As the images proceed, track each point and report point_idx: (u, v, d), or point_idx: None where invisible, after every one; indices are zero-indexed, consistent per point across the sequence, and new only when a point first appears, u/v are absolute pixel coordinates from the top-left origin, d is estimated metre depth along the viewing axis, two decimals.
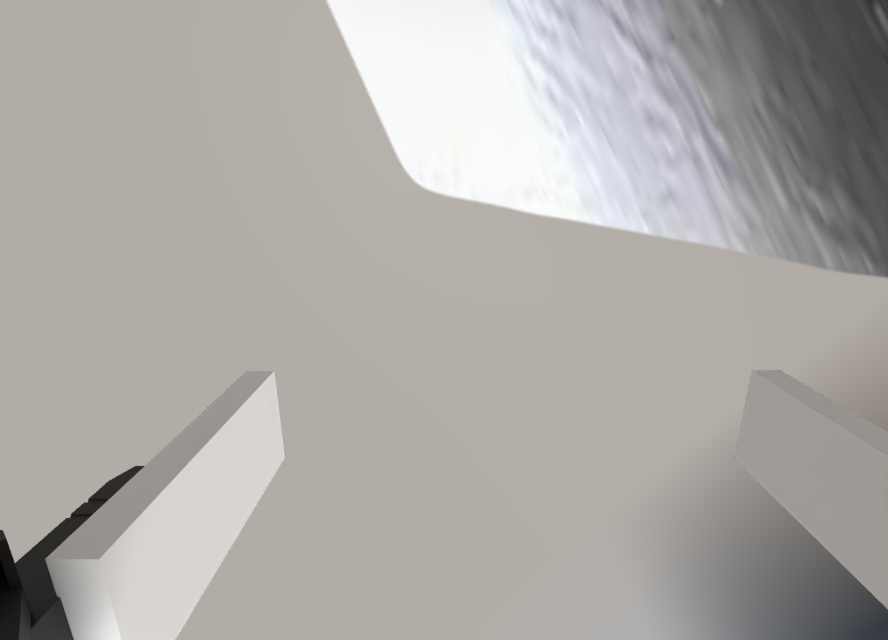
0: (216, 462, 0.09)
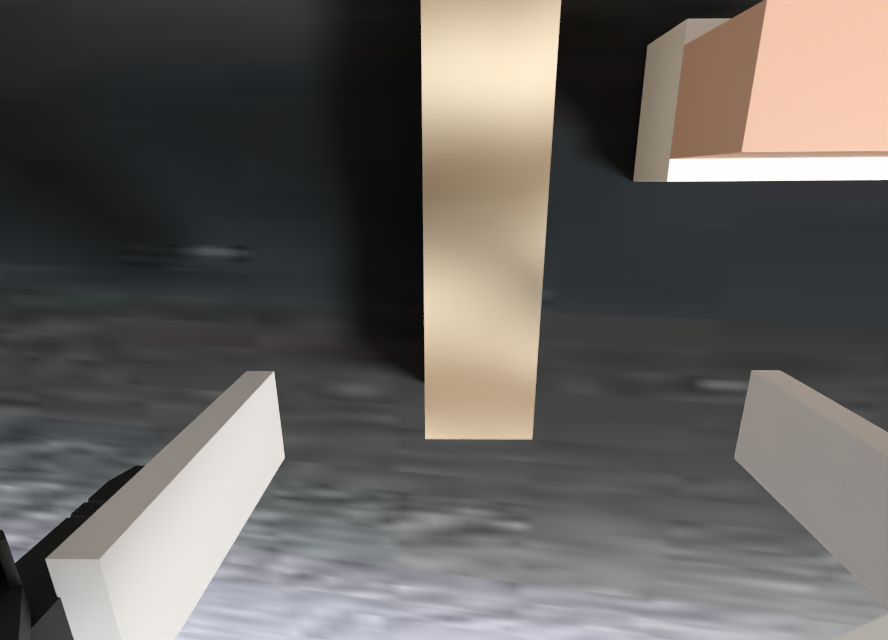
0: (216, 462, 0.09)
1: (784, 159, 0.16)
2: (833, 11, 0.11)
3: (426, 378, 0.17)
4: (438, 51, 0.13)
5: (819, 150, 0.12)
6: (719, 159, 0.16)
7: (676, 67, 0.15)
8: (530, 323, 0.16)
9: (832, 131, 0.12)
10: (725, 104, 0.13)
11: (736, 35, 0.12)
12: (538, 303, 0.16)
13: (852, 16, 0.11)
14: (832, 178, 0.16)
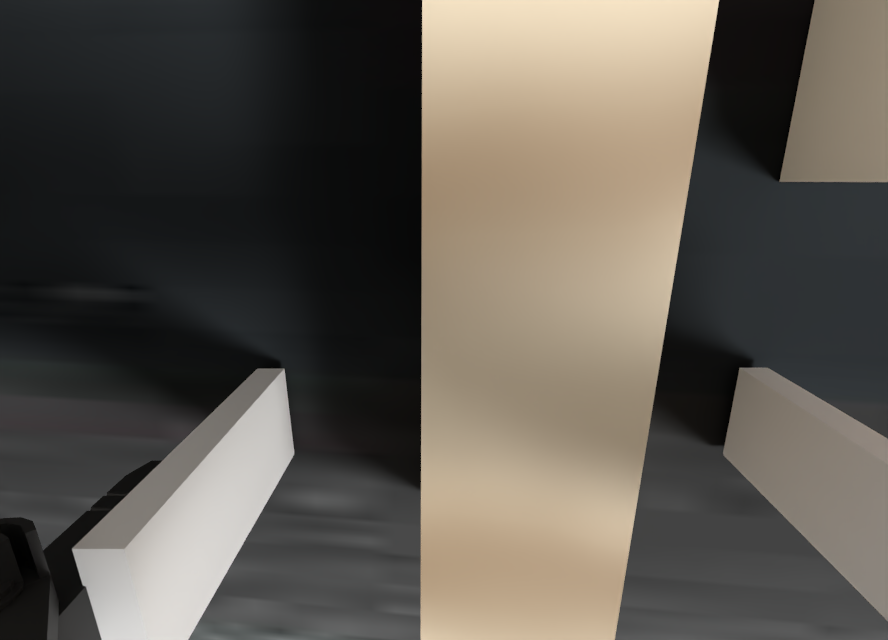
0: (231, 457, 0.10)
1: None
2: None
3: (424, 546, 0.09)
4: None
5: None
6: None
7: None
8: (626, 456, 0.08)
9: None
10: None
11: None
12: (645, 421, 0.08)
13: None
14: None
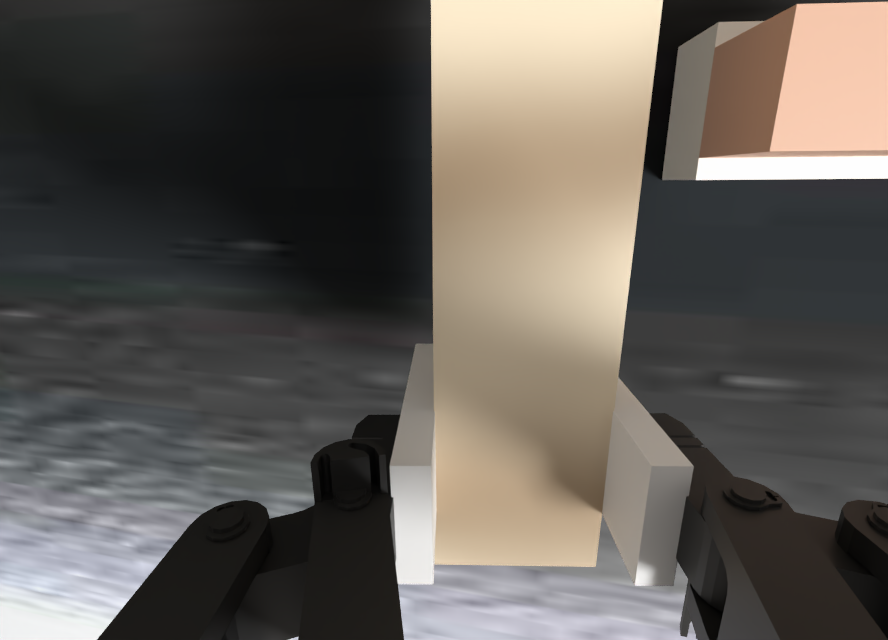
0: None
1: (814, 158, 0.16)
2: (862, 15, 0.12)
3: (437, 480, 0.11)
4: None
5: (847, 149, 0.13)
6: (748, 158, 0.16)
7: (706, 69, 0.16)
8: (600, 400, 0.10)
9: (860, 130, 0.12)
10: (754, 105, 0.13)
11: (766, 39, 0.13)
12: (614, 371, 0.10)
13: (881, 20, 0.12)
14: (862, 176, 0.16)
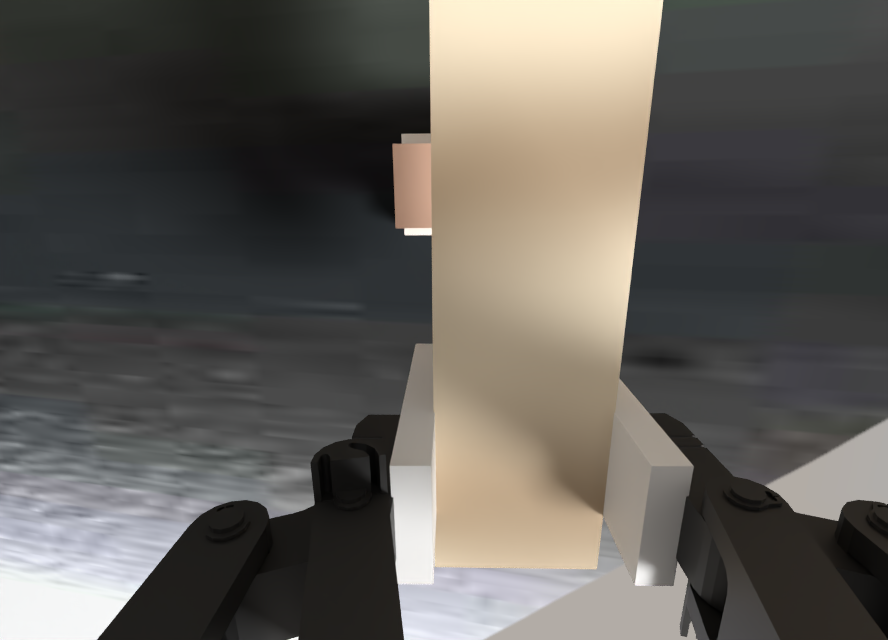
0: None
1: None
2: None
3: (437, 482, 0.11)
4: None
5: None
6: None
7: None
8: (601, 402, 0.10)
9: None
10: None
11: None
12: (615, 372, 0.10)
13: None
14: None
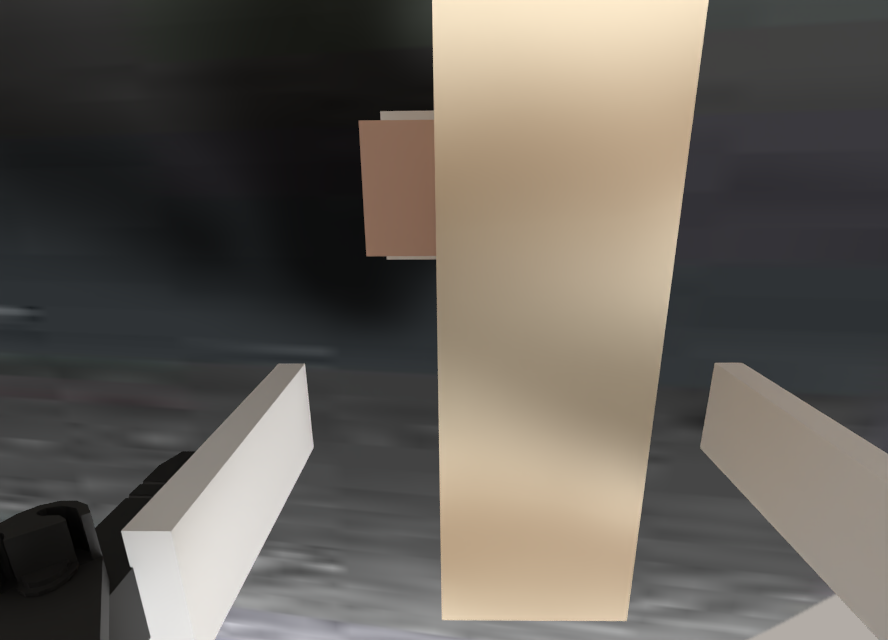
0: (259, 448, 0.10)
1: None
2: (424, 131, 0.12)
3: (443, 526, 0.09)
4: None
5: None
6: None
7: None
8: (633, 434, 0.09)
9: None
10: None
11: None
12: (650, 400, 0.08)
13: None
14: None
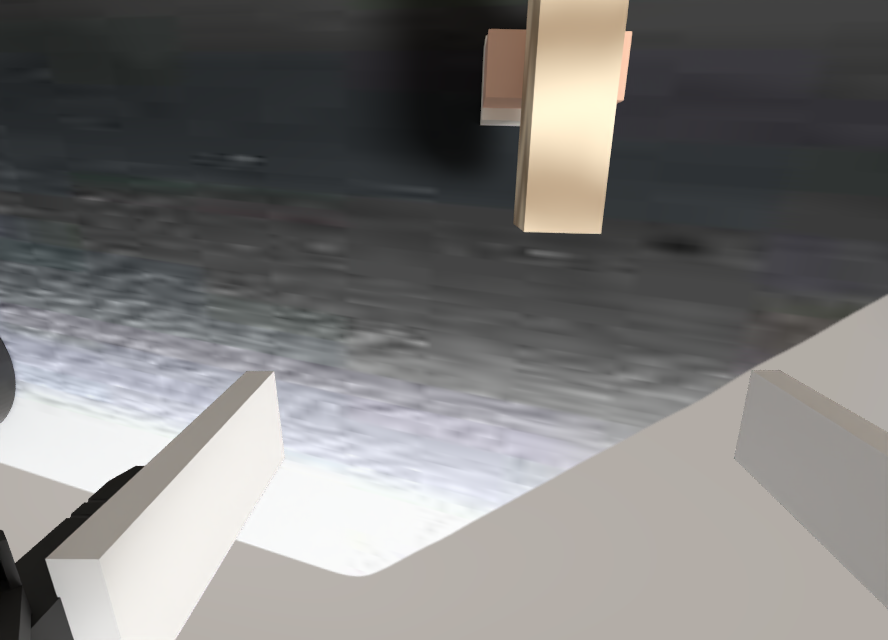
0: (216, 462, 0.09)
1: None
2: (518, 35, 0.26)
3: (528, 182, 0.23)
4: None
5: (520, 97, 0.27)
6: (508, 108, 0.31)
7: (484, 59, 0.30)
8: (605, 141, 0.23)
9: None
10: (485, 76, 0.28)
11: (487, 44, 0.27)
12: (611, 125, 0.23)
13: None
14: None
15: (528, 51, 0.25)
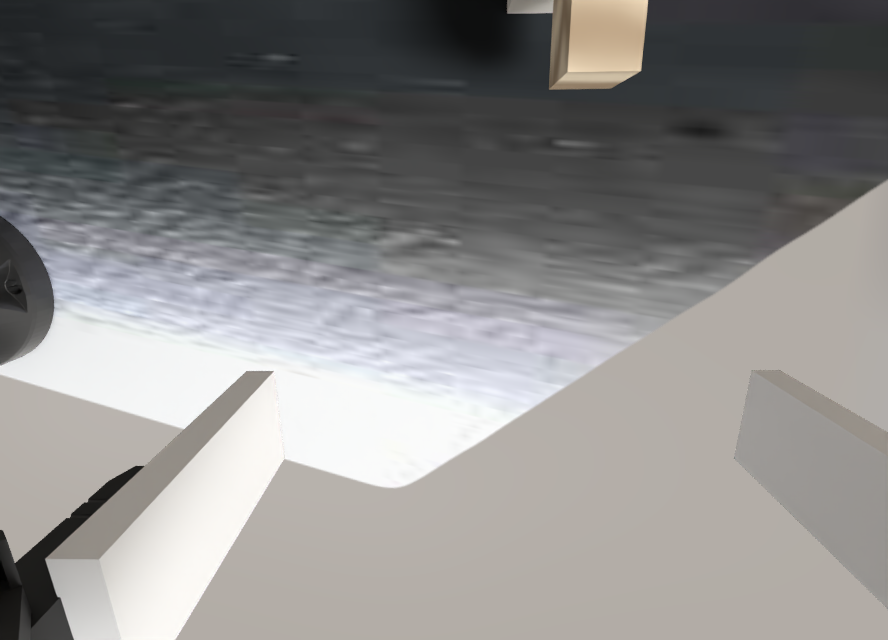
0: (216, 463, 0.09)
1: None
2: None
3: (571, 20, 0.25)
4: None
5: None
6: None
7: None
8: None
9: None
10: None
11: None
12: None
13: None
14: None
15: None
